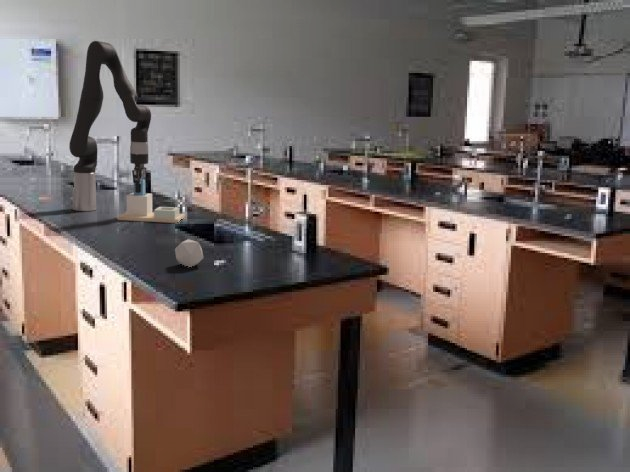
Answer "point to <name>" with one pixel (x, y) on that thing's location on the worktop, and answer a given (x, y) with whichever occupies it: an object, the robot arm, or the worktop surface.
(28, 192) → the worktop surface
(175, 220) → the stepped block tray
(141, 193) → the plug
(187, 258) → the grey faceted polyhedron
